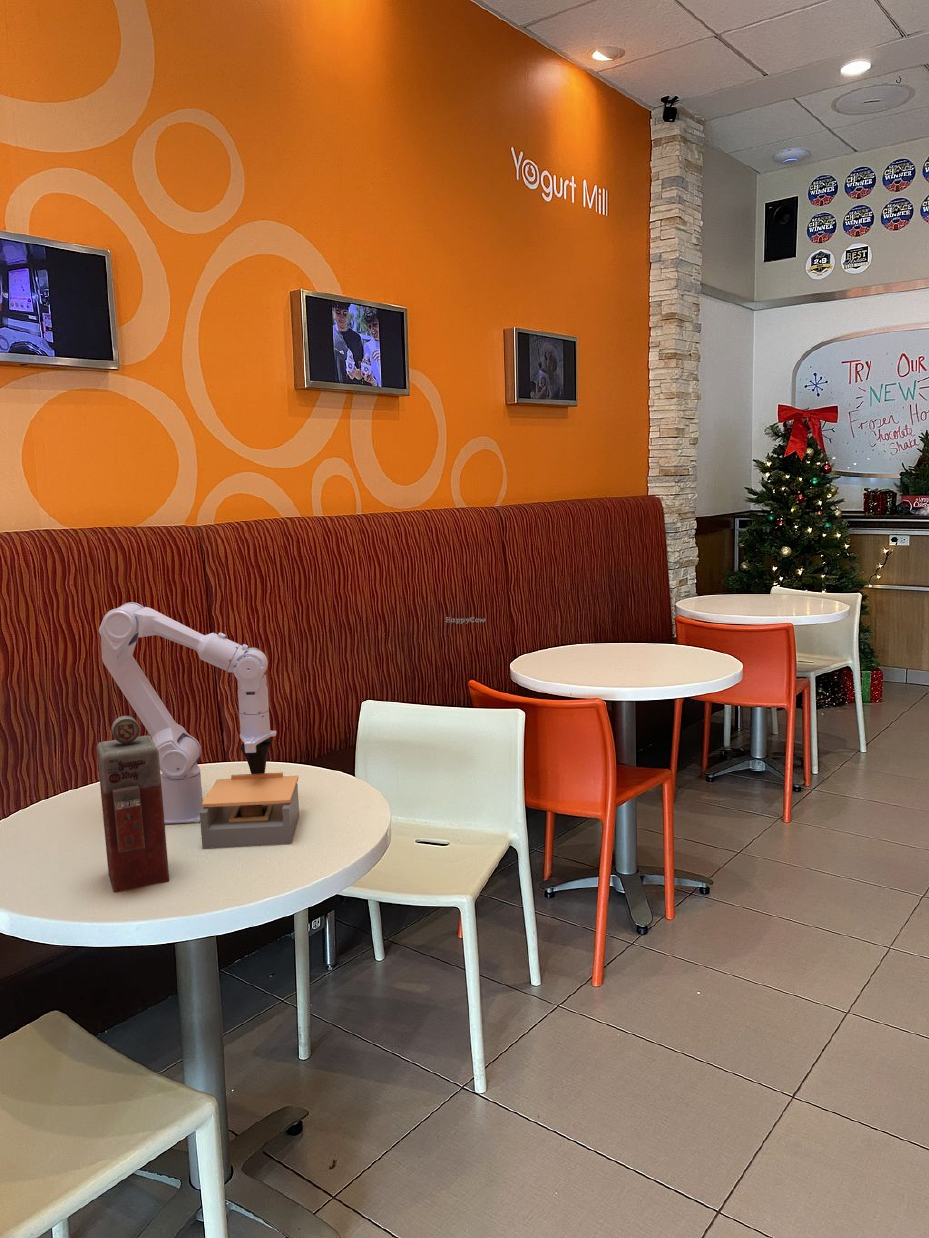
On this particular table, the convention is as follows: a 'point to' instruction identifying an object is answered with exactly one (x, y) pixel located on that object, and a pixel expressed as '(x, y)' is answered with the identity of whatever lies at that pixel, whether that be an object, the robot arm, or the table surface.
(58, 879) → the table surface
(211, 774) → the table surface
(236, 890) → the table surface
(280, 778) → the lid
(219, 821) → the housing
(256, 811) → the brown cylinder
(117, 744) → the vintage gas pump
